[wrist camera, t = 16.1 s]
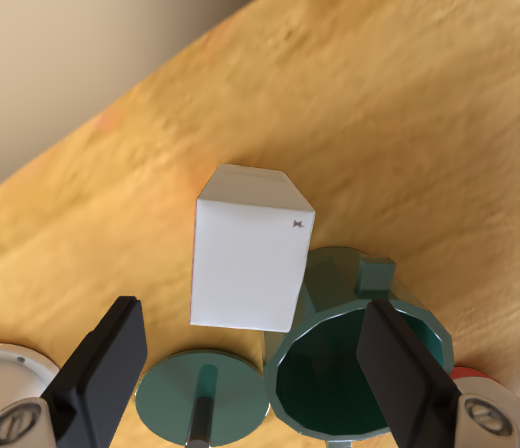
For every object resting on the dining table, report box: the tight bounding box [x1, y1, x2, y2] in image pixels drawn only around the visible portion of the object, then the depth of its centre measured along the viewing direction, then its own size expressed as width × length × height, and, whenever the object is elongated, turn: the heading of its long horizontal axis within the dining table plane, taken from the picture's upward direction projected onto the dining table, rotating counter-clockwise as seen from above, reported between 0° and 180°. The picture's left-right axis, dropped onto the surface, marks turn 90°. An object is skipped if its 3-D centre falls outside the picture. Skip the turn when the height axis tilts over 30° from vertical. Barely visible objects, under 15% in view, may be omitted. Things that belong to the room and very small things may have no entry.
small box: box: [189, 163, 315, 332], centre depth 21 cm, size 8×6×13 cm
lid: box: [135, 349, 270, 448], centre depth 33 cm, size 17×17×6 cm
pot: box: [260, 247, 455, 448], centre depth 27 cm, size 16×22×10 cm
